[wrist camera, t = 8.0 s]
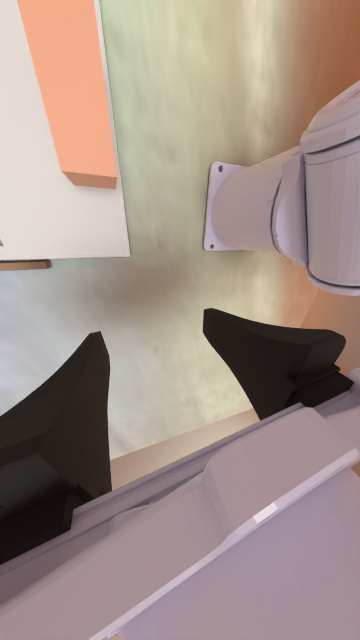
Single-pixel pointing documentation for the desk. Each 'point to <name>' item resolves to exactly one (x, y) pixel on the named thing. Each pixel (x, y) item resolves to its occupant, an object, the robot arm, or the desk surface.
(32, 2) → the cube strip
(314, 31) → the desk surface
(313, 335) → the robot arm
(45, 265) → the lane rails
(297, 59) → the desk surface
